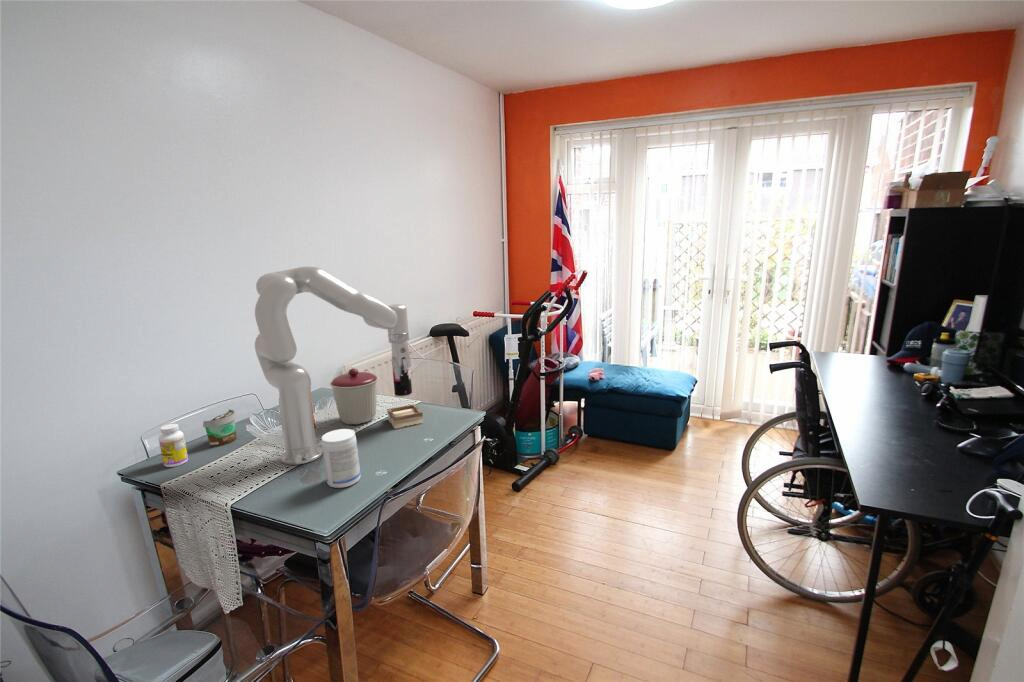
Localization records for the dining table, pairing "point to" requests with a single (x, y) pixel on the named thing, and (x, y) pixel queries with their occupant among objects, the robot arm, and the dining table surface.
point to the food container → (221, 429)
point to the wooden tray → (405, 416)
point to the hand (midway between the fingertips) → (402, 382)
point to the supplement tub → (341, 458)
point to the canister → (355, 396)
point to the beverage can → (399, 389)
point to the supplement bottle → (173, 446)
